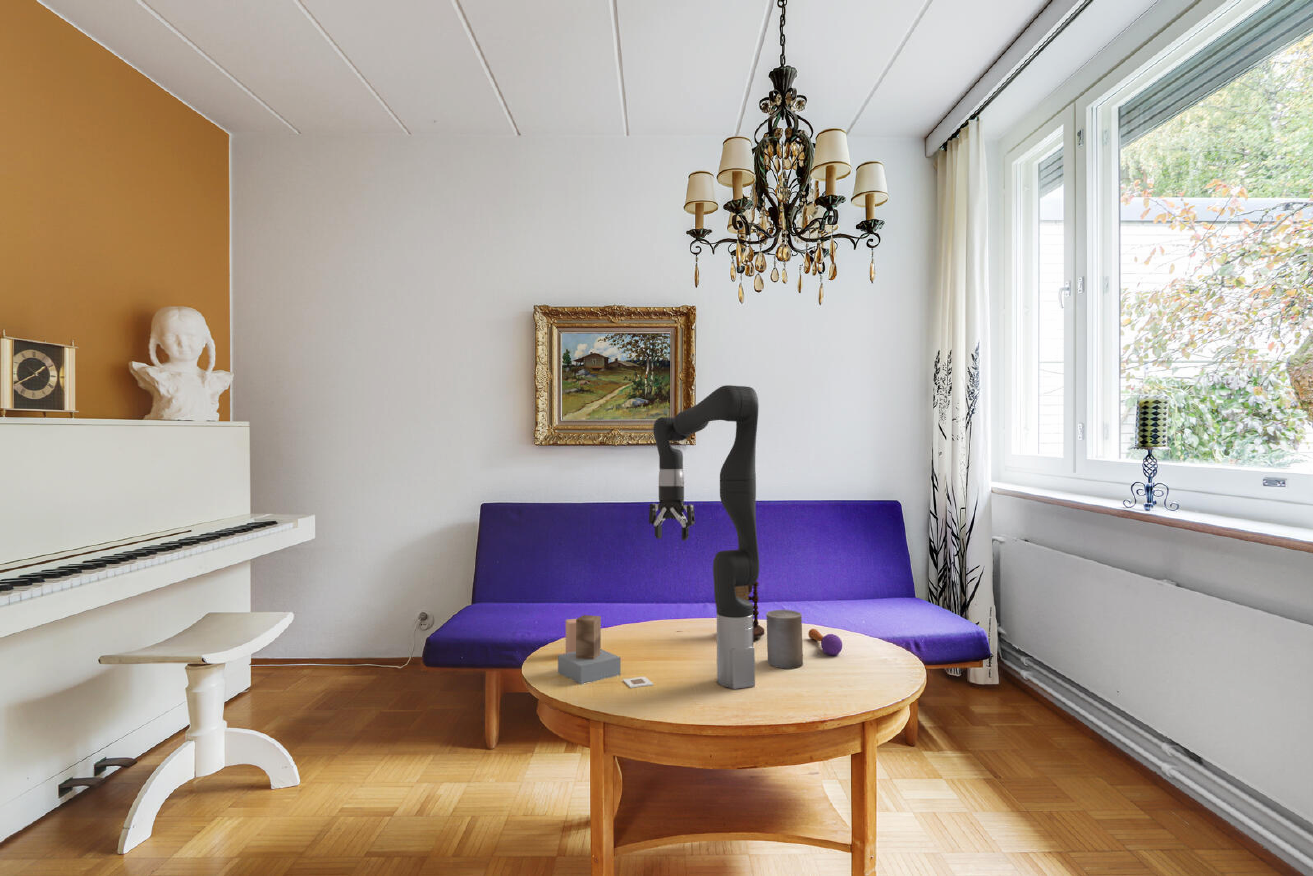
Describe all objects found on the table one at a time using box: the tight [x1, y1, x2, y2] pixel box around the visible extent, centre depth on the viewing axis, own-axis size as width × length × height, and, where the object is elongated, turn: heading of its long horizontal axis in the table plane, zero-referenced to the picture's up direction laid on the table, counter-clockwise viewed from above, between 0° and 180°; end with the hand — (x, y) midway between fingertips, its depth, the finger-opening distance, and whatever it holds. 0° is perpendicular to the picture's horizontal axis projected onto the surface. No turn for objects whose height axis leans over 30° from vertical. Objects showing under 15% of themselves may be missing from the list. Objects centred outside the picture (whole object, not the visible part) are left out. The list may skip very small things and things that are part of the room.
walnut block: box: [575, 614, 602, 659], centre depth 172 cm, size 5×5×10 cm
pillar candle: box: [765, 608, 804, 669], centre depth 179 cm, size 10×10×15 cm
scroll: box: [735, 580, 765, 642], centre depth 207 cm, size 15×15×20 cm
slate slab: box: [557, 648, 622, 685], centre depth 171 cm, size 12×12×5 cm
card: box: [622, 676, 654, 689], centre depth 164 cm, size 6×6×1 cm
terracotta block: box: [565, 618, 577, 654], centre depth 188 cm, size 5×5×10 cm
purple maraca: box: [807, 628, 843, 656], centre depth 194 cm, size 6×6×20 cm
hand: (671, 539), depth 191 cm, fingers open, 8 cm apart
